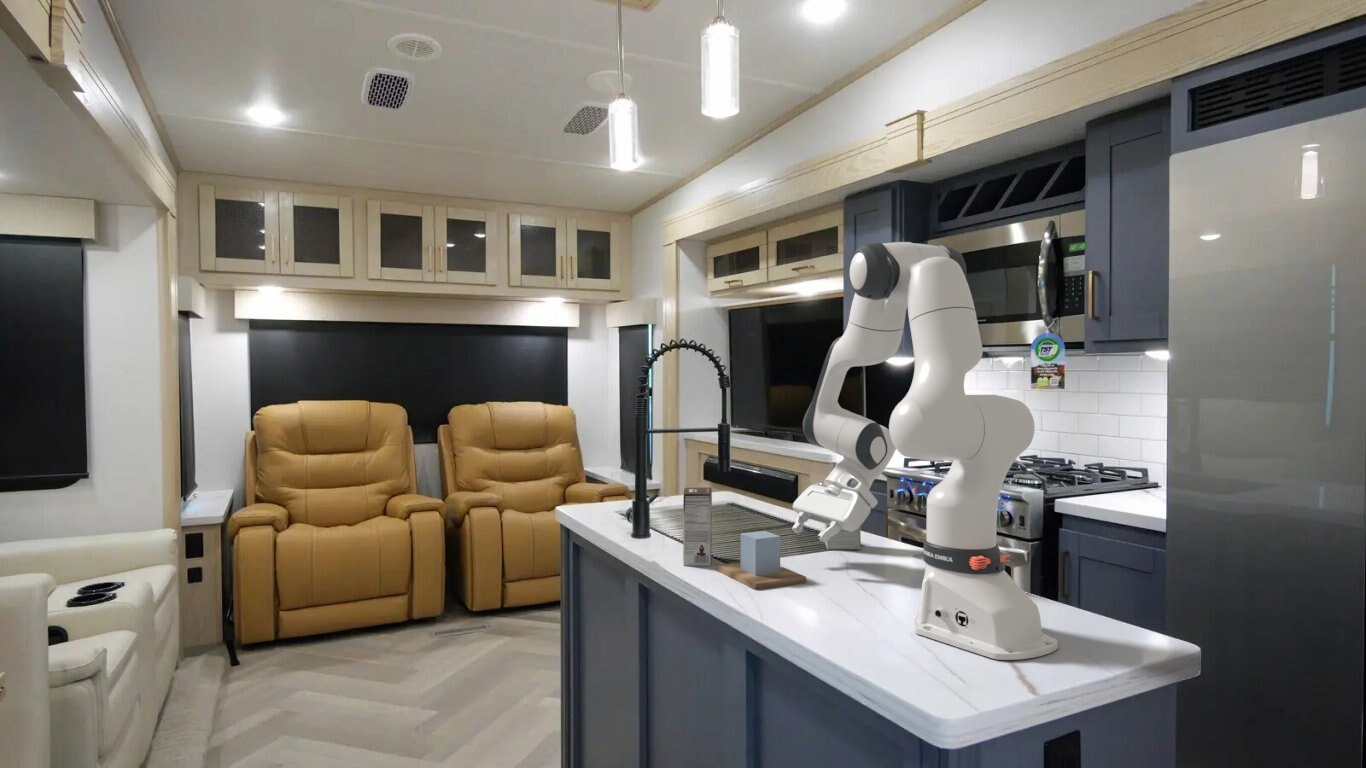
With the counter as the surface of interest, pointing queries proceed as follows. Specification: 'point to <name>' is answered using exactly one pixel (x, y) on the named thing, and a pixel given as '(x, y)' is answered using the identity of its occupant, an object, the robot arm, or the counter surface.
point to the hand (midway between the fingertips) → (807, 535)
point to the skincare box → (844, 540)
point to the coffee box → (697, 526)
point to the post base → (761, 576)
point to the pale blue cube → (760, 553)
